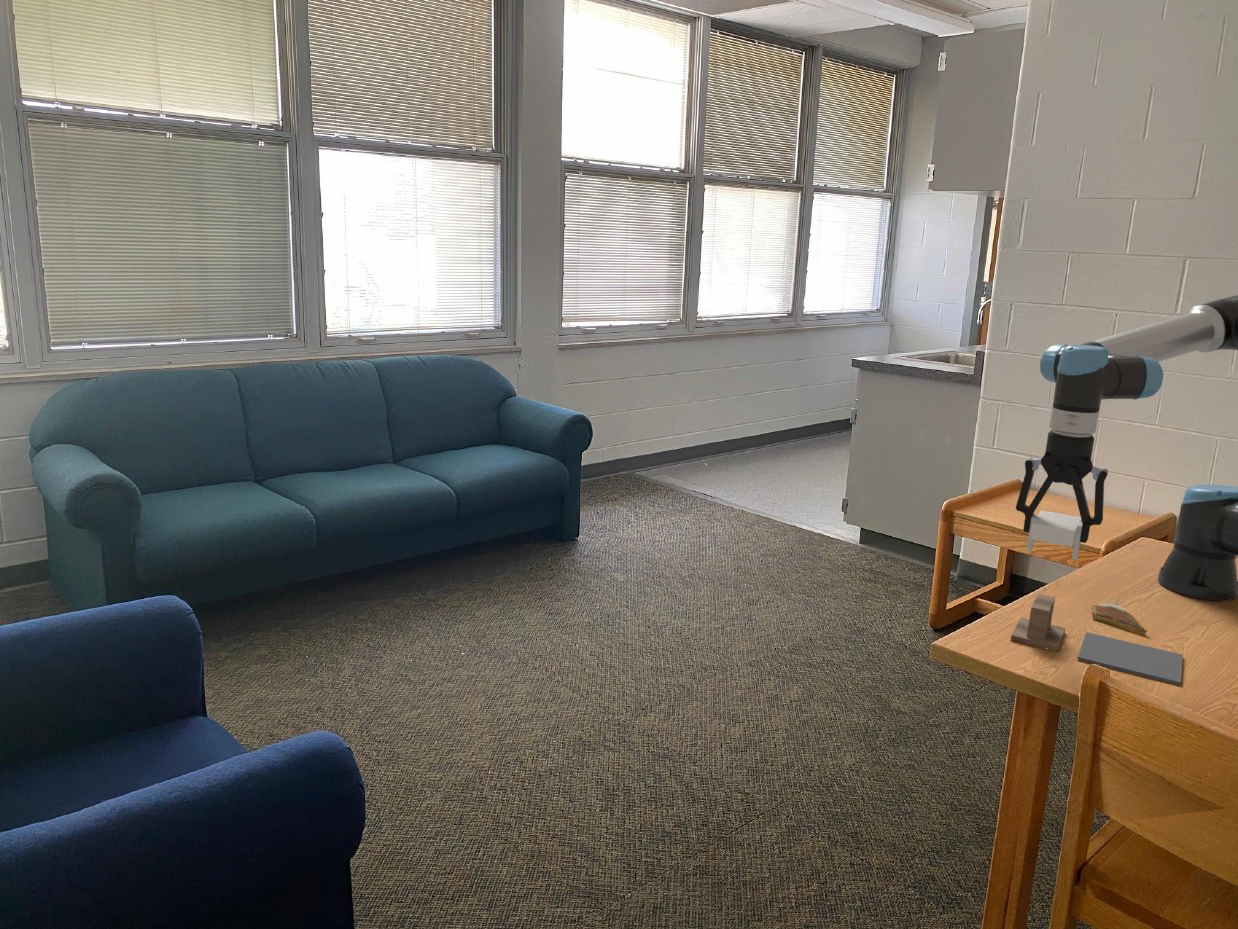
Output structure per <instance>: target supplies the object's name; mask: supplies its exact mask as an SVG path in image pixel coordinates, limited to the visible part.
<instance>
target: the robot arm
mask: <svg viewBox="0 0 1238 929" xmlns="http://www.w3.org/2000/svg"><path fill="white" fill-rule="evenodd" d="M1220 350H1229V351H1230V350H1231V351H1233V350H1234V351H1238V294H1236V295H1231V296H1228V297H1223V298H1220V299H1217V300H1212V301H1209V302H1205V303H1202V304H1197V305H1195V306H1193V307H1191V308H1190V309H1189V310H1188V311H1186V313H1185V314H1182V315H1179V316H1175V317H1172V318H1168V319H1165V320H1162V321H1157V322H1154V323H1151V324H1148V325H1147V324H1146V325H1145V326H1141V327H1137V328H1133V329H1130V330H1127V331H1124V332H1120V333H1117V334H1113V335H1109V336H1106V337H1103V338H1099V339H1096V340H1093V341H1089V342H1085V343H1081V344H1065V343H1064V344H1053V345H1051V346H1049V347H1048V348H1047V349H1046V350H1045V351H1044V352H1043V353H1042V356H1041V358H1040V362H1039V369H1040V373H1041V376H1042V377H1043V378H1044V379H1045V380H1047V381H1049V382H1051V383H1054V384H1055V389H1054V393H1053V394H1054V396H1053V403H1052V408H1051V414H1050V420H1049V426H1048V427H1049V428H1050V429H1051V430H1050V431H1049V432H1048V433H1047V440H1046V445H1045V452H1044V455H1042V457H1041V458H1033V457H1028V458H1027V459H1026V460H1025V462H1024V469H1025V474H1024V477H1023V480H1022V484H1021V487H1020V491H1019V495H1018V499H1017V502H1016V505H1015V510H1016V511H1017V512H1020V513H1022V514H1024V522H1023V529H1022V530H1023V532H1024V533H1028V537H1027V538H1028V539H1027V545H1026V552H1032V550H1033V548H1034V545H1035V540H1032V539H1030V536H1031V530H1032V523H1033V522H1034V520H1035V519H1036V518H1037V516H1038V514H1036V513H1035V512H1036V509H1037V508H1038V507H1039V505H1040V503H1041V502H1042V500H1043V498H1044V497H1045V495H1046V494H1047V492H1048V491H1049V489H1050V487H1052V486H1051V485H1052V484H1053V483H1056V484H1057V483H1058V484H1062V483H1064V484H1066V485H1069V486H1072V488H1073V491H1074V496H1075V499H1076V503H1077V506H1078V512H1079V515H1080V516H1079V517H1081V522H1079V524H1078V526H1077V532H1076V538H1075V542H1074V545H1073V550H1072V555H1071V561H1077V560H1078V558H1079V554H1080V553H1079V552H1080V548H1081V547H1080V546H1081V543H1083V544H1086V543H1087V542H1088V539H1089V535H1090V529H1091V527H1092V526H1099V525H1102V523H1103V519H1104V500H1105V497H1104V496H1105V493H1104V492H1105V481H1106V480H1107V477H1108V474H1109V470H1108V469H1107V468H1099V467H1097V466H1094V465H1093V464H1094V463H1093V461H1092V456H1093V450H1094V444H1095V437H1094V436H1093V435H1094V434H1095V433H1096V431H1097V426H1098V420H1099V415H1100V407H1101V403H1102V400H1127V399H1128V400H1131V399H1132V400H1135V401H1136V400H1139V399H1146V398H1150V397H1152V396H1155V395H1156V394H1157V393H1158V392H1159V391H1160V389H1161V387H1162V384H1163V382H1164V381H1163V380H1164V370H1163V368H1162V366H1161V364H1160V363H1159V362H1162V361H1163V362H1164V361H1166V360H1169V359H1172V358H1176V357H1180V356H1183V355H1187V354H1190V353H1192V352H1196V351H1198V352H1200V353H1212V352H1215V351H1220ZM1039 466H1042V468H1043V469H1044V471H1045V473H1046V475H1047V476H1046V478H1045V480H1044V482H1043V483H1042V485H1041V487H1040V488H1039V490H1038V491H1037V493H1036V495H1035V496H1034V498H1033V500H1032V501H1031V503H1030V504H1029V505H1027V499H1028V496H1029V493H1030V489H1031V487H1032V486H1031V485H1032V483H1033V480H1034V476H1035V471H1038V469H1039ZM1089 473H1091V474H1092V479H1093V480H1094V481H1095V486H1094V509H1093V510H1094V511H1093V514H1094V516H1091V513H1090V510H1089V505H1088V501H1087V496H1086V492H1085V489H1084V482H1083V479H1084V478H1085V477H1086V476H1088V475H1089ZM1237 556H1238V486H1232V485H1222V484H1221V485H1220V484H1195V485H1191V486H1188V488H1186V489H1185V491H1184V495H1183V499H1182V501H1181V503H1180V510H1179V516H1178V521H1177V528H1176V533H1175V538H1174V543H1173V548H1172V550H1171V551H1170V553H1169V555H1168V556H1167V558H1166V560H1165V562H1164V563H1163V565H1162V567H1160V569H1159V571H1158V576H1157V582H1158V583H1159V584H1160V585H1161V586H1163V587H1164V588H1166V589H1168V590H1170V591H1172V592H1174V593H1178V594H1182V595H1184V596H1188V597H1192V598H1195V599H1201V600H1207V601H1218V600H1225V601H1230V600H1229V599H1232V600H1235V599H1236V598H1235V597H1237V598H1238V572H1237V563H1236V560H1237V559H1236V558H1237ZM1234 598H1235V599H1234Z"/></svg>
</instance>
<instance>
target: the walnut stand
mask: <svg viewBox="0 0 1238 929" xmlns="http://www.w3.org/2000/svg"><path fill="white" fill-rule="evenodd" d="M1034 599H1035V600H1034V602H1033V603H1032V605H1031V610H1030V613H1029V615H1030V616H1029V618H1025V617H1024V618H1023V617H1019V620H1018V622H1017V624H1016V626H1015V628H1014V630H1013V632H1012V633H1011V635H1010V641H1012V642H1017V643H1020V644H1024V643H1025V645H1028V644H1029V646H1032V645H1034V646H1033V647H1037V648H1040V647H1042V648H1041V649H1044V648H1048V649H1050V650H1049V651H1052V650H1055V651H1054V652H1056V651H1057V650H1059V648H1060V645H1061V643H1062V641H1063V637H1064V635H1065V631H1066V628H1065V627H1063V626H1058V625H1055V624H1054V625H1053V624H1052V620H1053V619H1052V618H1053V615H1054V614H1053V612H1054V608H1055V601H1056V597H1055V596H1050V595H1045V594H1041V593H1037V595H1036V598H1034ZM1048 649H1047V650H1048ZM1057 652H1058V651H1057Z"/></svg>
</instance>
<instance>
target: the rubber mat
mask: <svg viewBox="0 0 1238 929" xmlns="http://www.w3.org/2000/svg"><path fill="white" fill-rule="evenodd" d="M1077 659H1079V660H1082V661H1081V662H1083V661H1086V662H1085V663H1087V662H1089V663H1088V664H1091V663H1093V664H1092V665H1095V664H1099V665H1100V667H1103V666H1104V668H1107V667H1108V668H1107V669H1112V670H1115V671H1116V670H1117V671H1119V672H1124V673H1128V674H1132V675H1136V676H1140V677H1144V678H1149V679H1153V680H1157V681H1160V682H1165V683H1167V684H1173V685H1175V686H1181V684H1182V673H1183V660H1184V654H1181V653H1177V652H1174V651H1169V650H1164V649H1161V648H1157V647H1152V646H1149V645H1143V644H1139V643H1134V642H1130V641H1125V640H1123V639H1122V640H1121V639H1117V638H1114V637H1110V636H1109V637H1108V636H1105V635H1101V634H1096V633H1092V632H1088V631H1086V632H1085V635H1084V637H1083V640H1082V644H1081V647H1080V650H1079V653H1078V657H1077ZM1079 660H1078V661H1079ZM1099 665H1098V666H1099Z"/></svg>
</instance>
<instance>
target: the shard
mask: <svg viewBox="0 0 1238 929" xmlns="http://www.w3.org/2000/svg"><path fill="white" fill-rule="evenodd" d="M1090 608H1091V610H1092V611H1093V614H1092V619H1093V620H1094V621H1098V622H1103V623H1106V624H1108V625H1112V626H1113V627H1117V628H1119V629H1122V630H1126V631H1128V632H1131V633H1134V634H1138V635H1142V636H1146V633H1148V630H1146V629H1145V627H1143V626H1142V625H1141V624H1140V623H1139V621H1138V620H1137V619H1135V617H1134V616H1133V615H1132V614H1131V613H1130V612H1128V610H1127V609H1126V610H1127V611H1126V610H1122V609H1119V608H1116V607H1110V606H1099V605H1097V604H1096V605H1095V604H1094V605H1091V606H1090Z"/></svg>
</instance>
